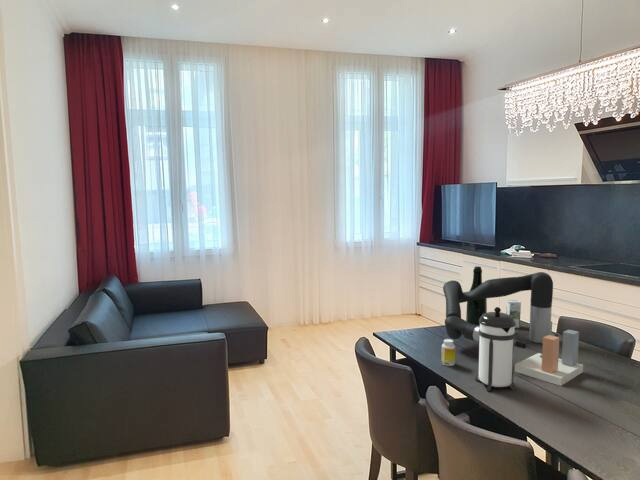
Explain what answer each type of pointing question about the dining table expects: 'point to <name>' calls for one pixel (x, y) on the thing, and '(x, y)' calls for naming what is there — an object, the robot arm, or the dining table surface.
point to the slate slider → (570, 347)
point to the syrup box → (514, 310)
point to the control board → (559, 377)
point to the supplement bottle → (448, 353)
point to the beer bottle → (476, 306)
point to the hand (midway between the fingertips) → (526, 346)
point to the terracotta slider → (550, 353)
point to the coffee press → (496, 349)
